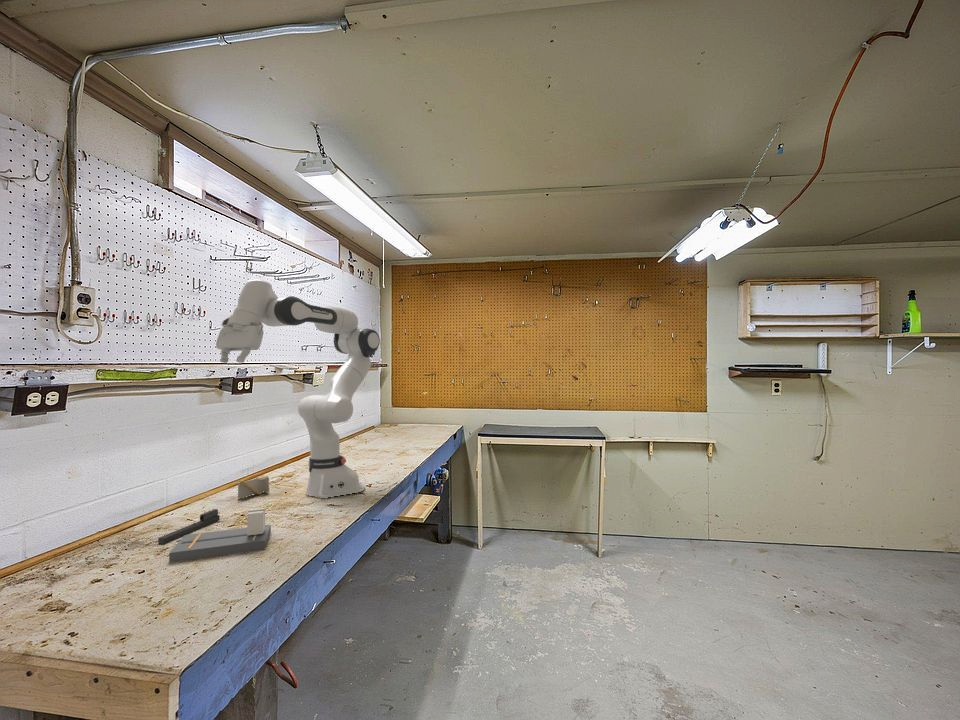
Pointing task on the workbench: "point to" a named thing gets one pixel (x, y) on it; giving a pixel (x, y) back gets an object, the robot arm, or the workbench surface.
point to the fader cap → (256, 521)
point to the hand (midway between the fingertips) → (231, 362)
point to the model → (253, 486)
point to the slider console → (218, 544)
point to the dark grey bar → (192, 526)
